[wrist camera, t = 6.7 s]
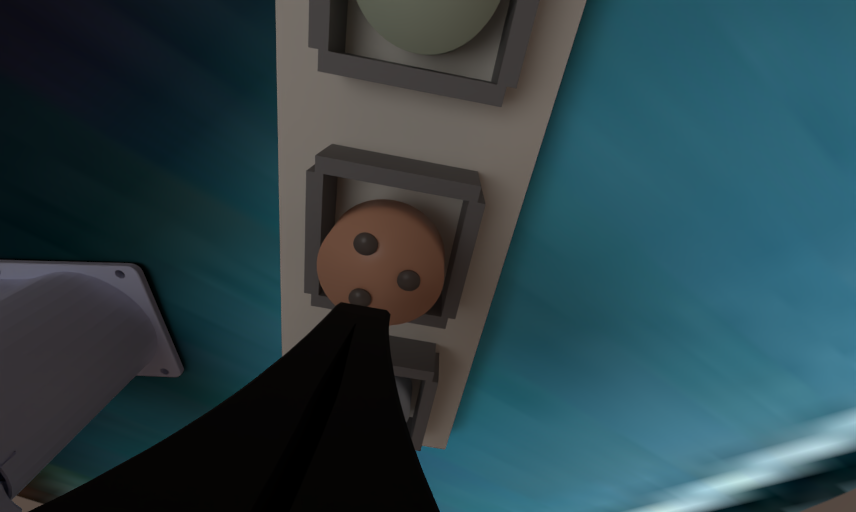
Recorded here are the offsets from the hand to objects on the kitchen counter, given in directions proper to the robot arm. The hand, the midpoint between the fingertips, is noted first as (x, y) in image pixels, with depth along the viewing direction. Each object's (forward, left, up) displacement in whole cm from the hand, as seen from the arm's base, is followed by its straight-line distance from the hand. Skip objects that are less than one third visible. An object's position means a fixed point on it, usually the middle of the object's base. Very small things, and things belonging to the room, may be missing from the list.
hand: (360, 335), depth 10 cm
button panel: (0, 0, -9) cm, 9 cm away
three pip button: (0, 0, -5) cm, 5 cm away
